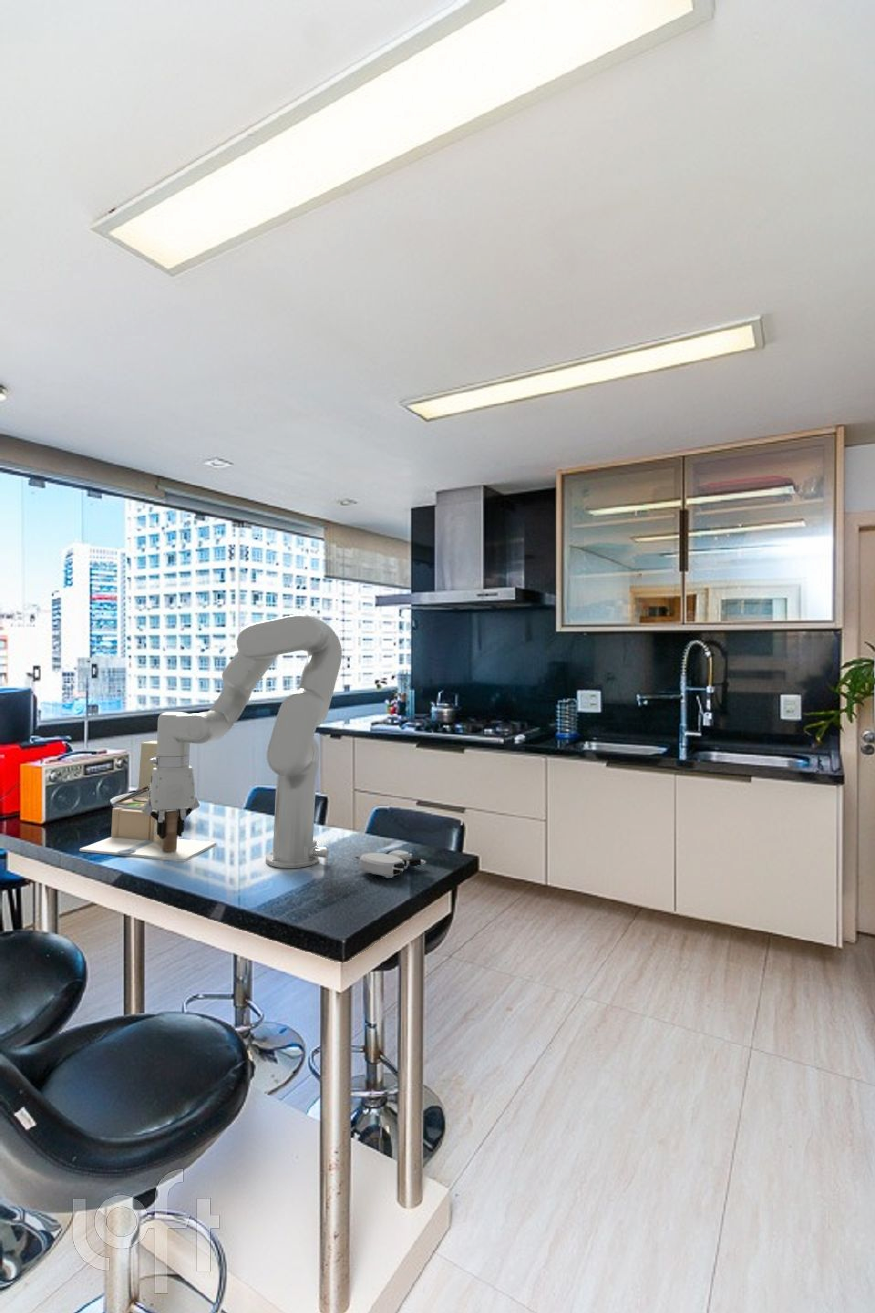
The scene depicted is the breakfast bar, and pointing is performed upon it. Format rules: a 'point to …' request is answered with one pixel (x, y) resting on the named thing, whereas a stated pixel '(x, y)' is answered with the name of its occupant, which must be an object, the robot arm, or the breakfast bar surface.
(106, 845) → the layout board with fixed fence
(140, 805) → the ramen bowl
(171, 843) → the hinged fence panel
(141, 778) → the beige tall block
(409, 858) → the robot toy
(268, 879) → the breakfast bar surface
